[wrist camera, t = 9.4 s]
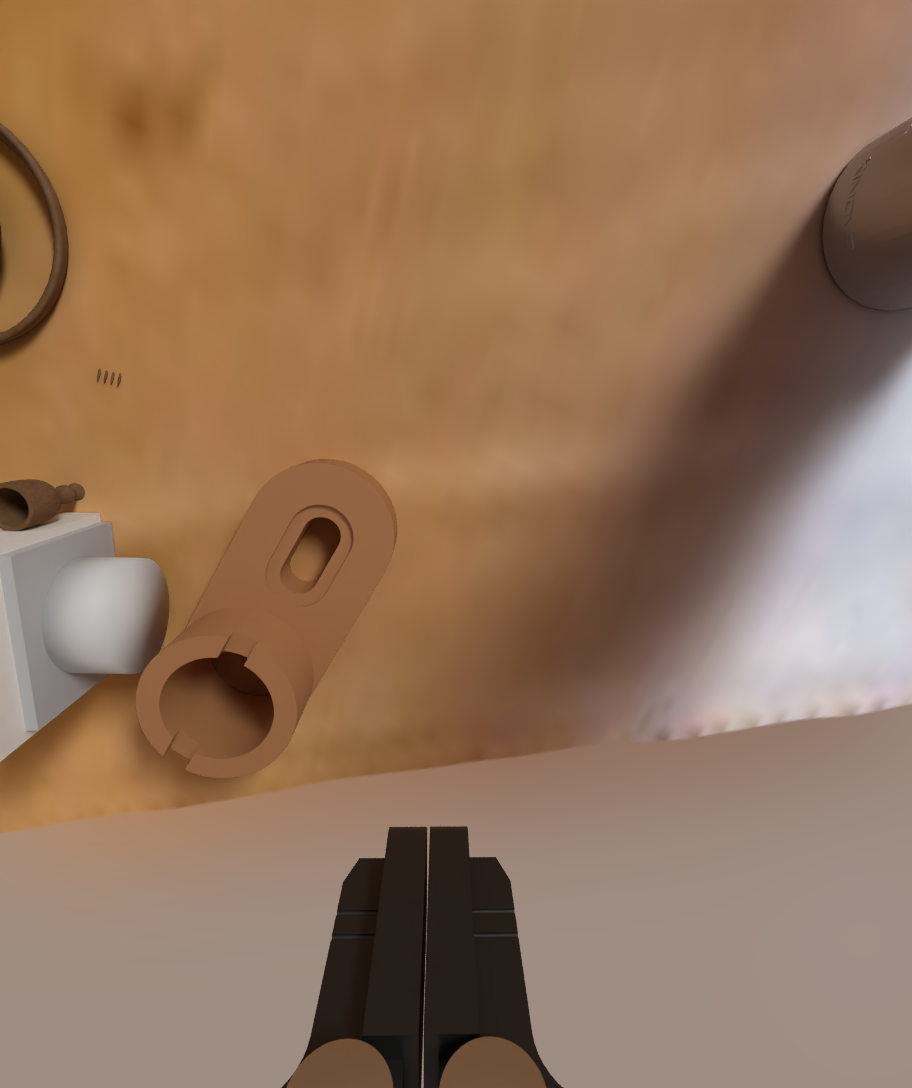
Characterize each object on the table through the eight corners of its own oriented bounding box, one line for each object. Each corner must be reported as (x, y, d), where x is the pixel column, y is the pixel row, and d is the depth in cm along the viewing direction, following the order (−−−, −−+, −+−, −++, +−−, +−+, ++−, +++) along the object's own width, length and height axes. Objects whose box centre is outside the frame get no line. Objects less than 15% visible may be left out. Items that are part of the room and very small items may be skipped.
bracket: (286, 730, 37) (253, 801, 30) (171, 673, 36) (110, 734, 29) (422, 503, 33) (419, 527, 27) (300, 432, 32) (265, 438, 25)
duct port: (164, 515, 33) (51, 559, 23) (178, 667, 35) (80, 766, 25) (65, 512, 33) (-92, 555, 23) (85, 666, 35) (-49, 764, 25)
